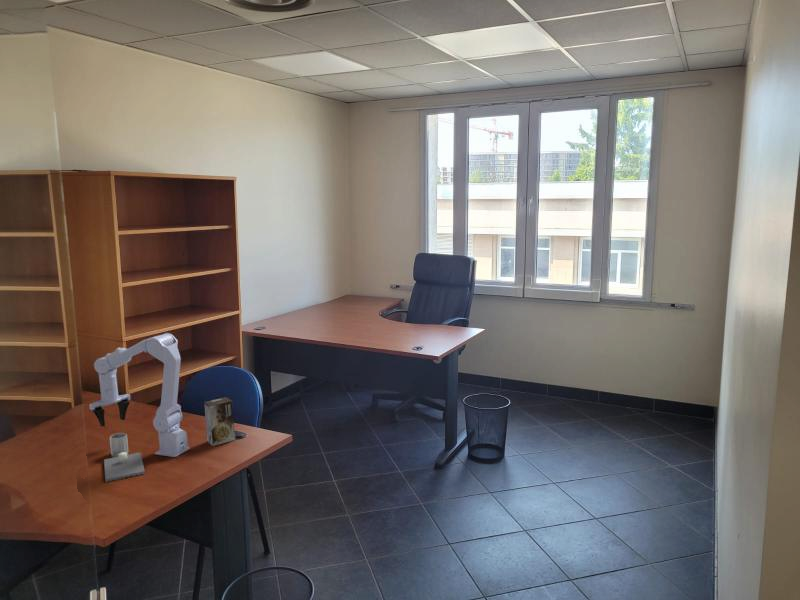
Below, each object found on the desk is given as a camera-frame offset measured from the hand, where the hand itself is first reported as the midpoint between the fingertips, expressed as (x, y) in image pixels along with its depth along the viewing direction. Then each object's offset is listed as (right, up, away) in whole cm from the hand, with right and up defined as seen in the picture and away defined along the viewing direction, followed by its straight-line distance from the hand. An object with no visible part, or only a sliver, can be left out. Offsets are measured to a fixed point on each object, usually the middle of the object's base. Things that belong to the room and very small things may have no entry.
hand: (112, 422), depth 219 cm
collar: (+5, -11, -5) cm, 13 cm away
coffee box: (+39, -9, +6) cm, 41 cm away
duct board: (+12, -12, -17) cm, 24 cm away
